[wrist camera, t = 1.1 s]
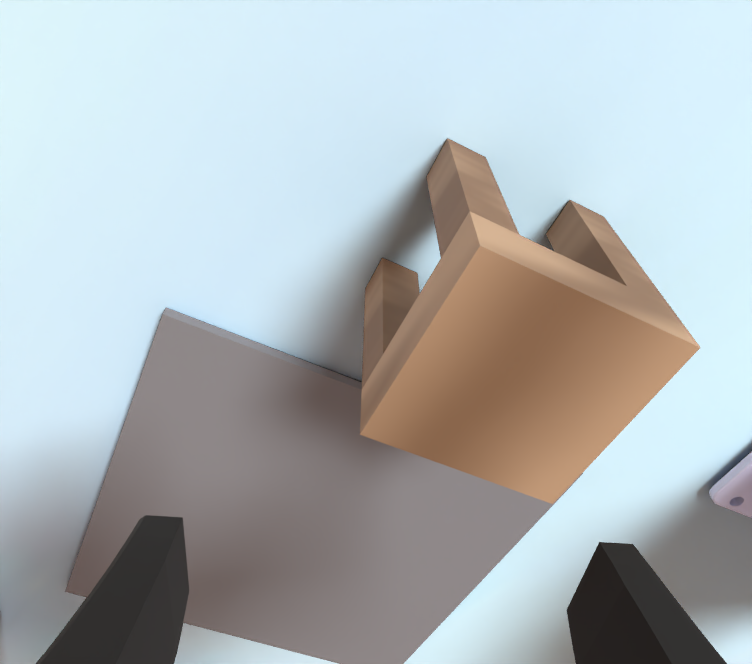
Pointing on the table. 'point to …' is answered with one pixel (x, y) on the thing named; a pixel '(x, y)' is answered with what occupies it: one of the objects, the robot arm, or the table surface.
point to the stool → (513, 340)
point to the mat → (293, 503)
